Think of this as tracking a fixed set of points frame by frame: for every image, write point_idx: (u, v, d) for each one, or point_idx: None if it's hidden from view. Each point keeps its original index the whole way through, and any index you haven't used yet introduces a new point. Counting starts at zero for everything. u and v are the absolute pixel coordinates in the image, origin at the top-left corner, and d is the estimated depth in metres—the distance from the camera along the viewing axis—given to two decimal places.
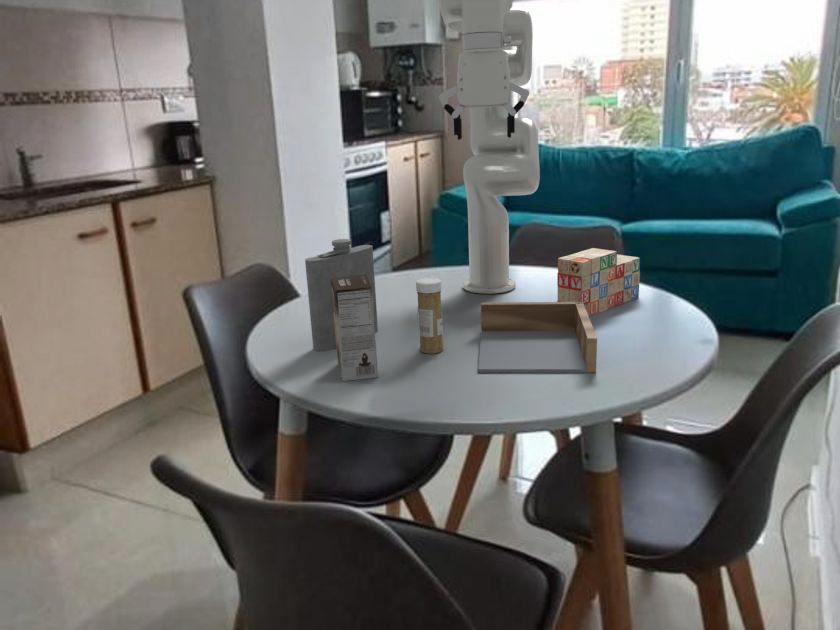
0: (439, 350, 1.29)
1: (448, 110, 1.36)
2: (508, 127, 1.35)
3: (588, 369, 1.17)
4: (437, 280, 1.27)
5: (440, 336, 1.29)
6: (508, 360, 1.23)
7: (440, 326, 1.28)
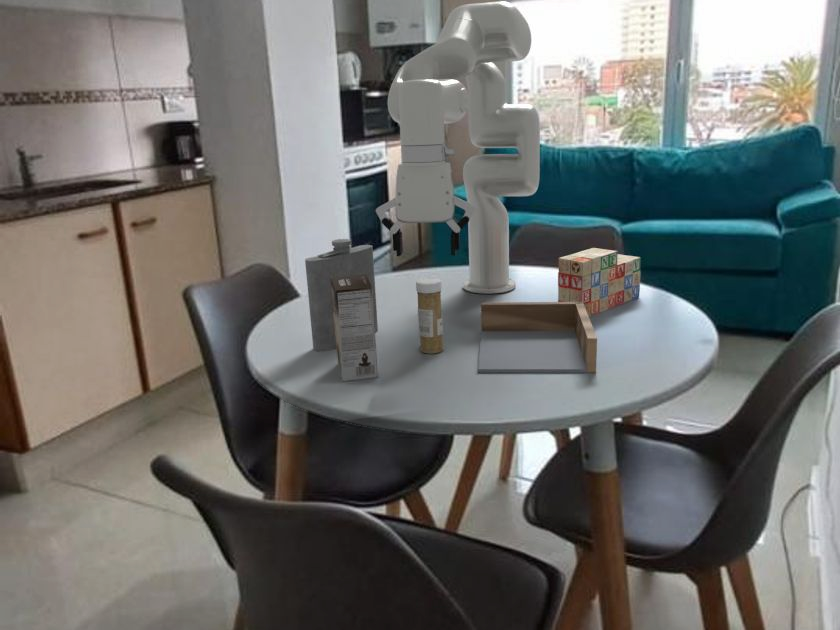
0: (439, 350, 1.29)
1: (386, 225, 1.24)
2: (452, 245, 1.23)
3: (588, 369, 1.17)
4: (437, 280, 1.27)
5: (440, 336, 1.29)
6: (508, 360, 1.23)
7: (440, 326, 1.28)
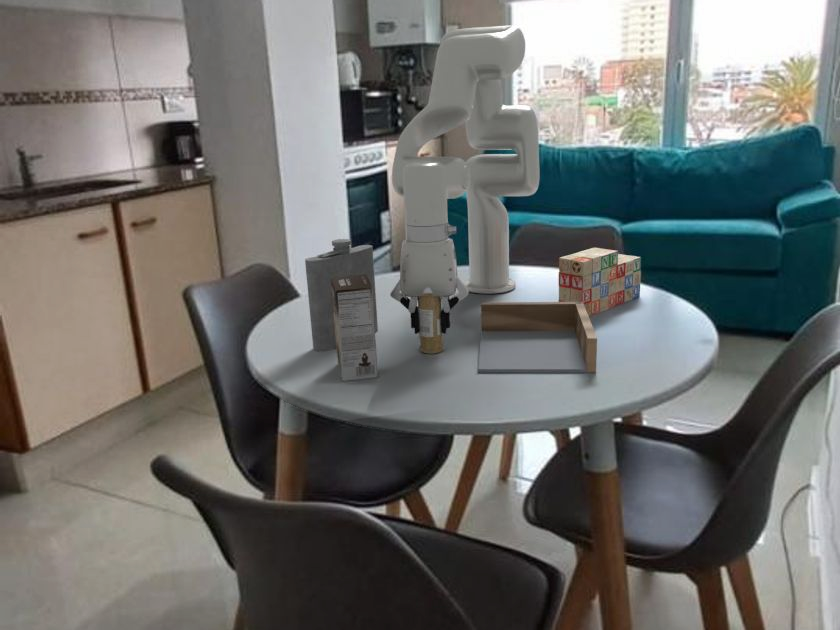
0: (439, 350, 1.29)
1: (404, 304, 1.28)
2: (442, 324, 1.28)
3: (588, 369, 1.17)
4: None
5: (440, 336, 1.29)
6: (508, 360, 1.23)
7: (440, 326, 1.28)
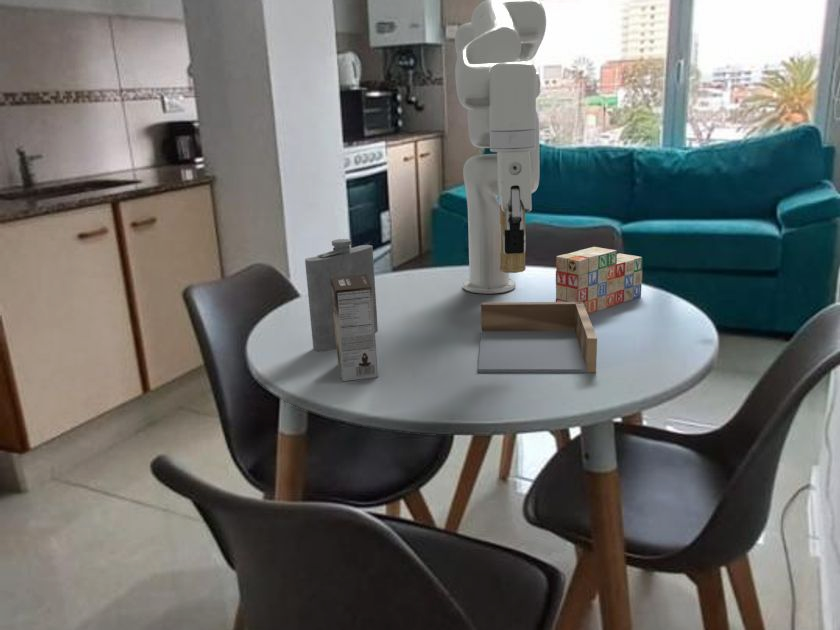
0: (504, 270, 1.22)
1: None
2: None
3: (588, 369, 1.17)
4: None
5: (507, 256, 1.21)
6: (508, 360, 1.23)
7: None
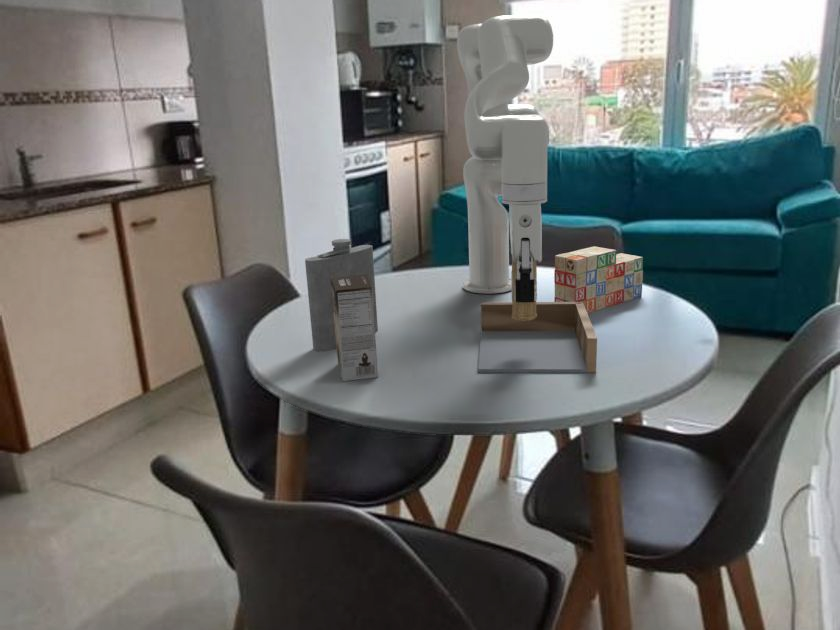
0: (515, 317, 1.24)
1: None
2: None
3: (588, 369, 1.17)
4: None
5: (518, 304, 1.22)
6: (508, 360, 1.23)
7: None
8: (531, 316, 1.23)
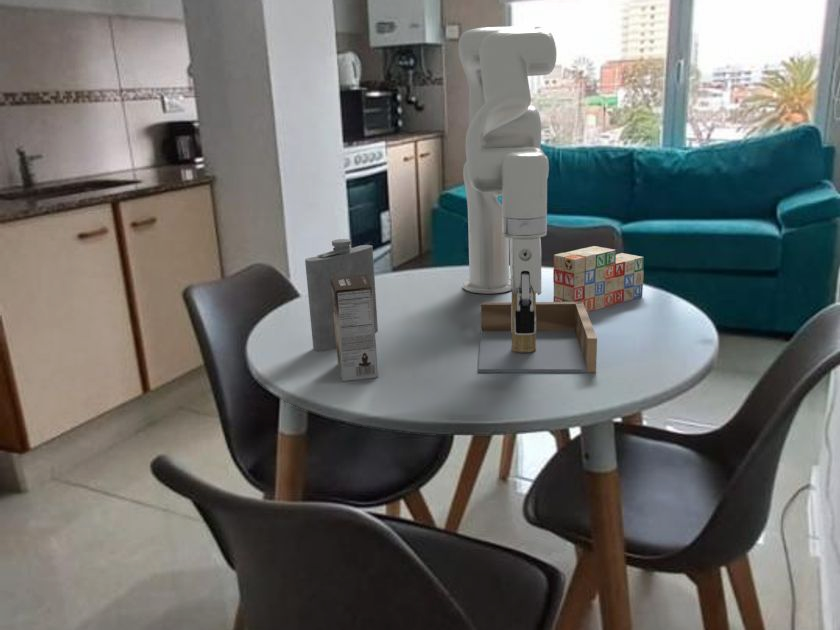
0: (515, 350, 1.26)
1: None
2: None
3: (588, 369, 1.17)
4: None
5: (518, 337, 1.25)
6: (508, 360, 1.23)
7: None
8: (531, 348, 1.25)
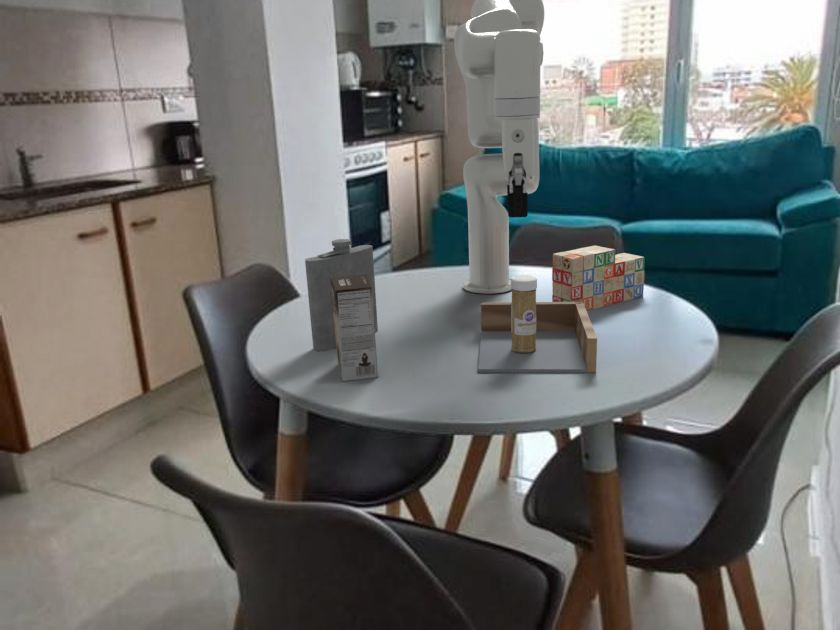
0: (515, 350, 1.26)
1: None
2: None
3: (588, 369, 1.17)
4: (523, 280, 1.22)
5: (518, 337, 1.25)
6: (508, 360, 1.23)
7: (518, 326, 1.24)
8: (531, 349, 1.25)
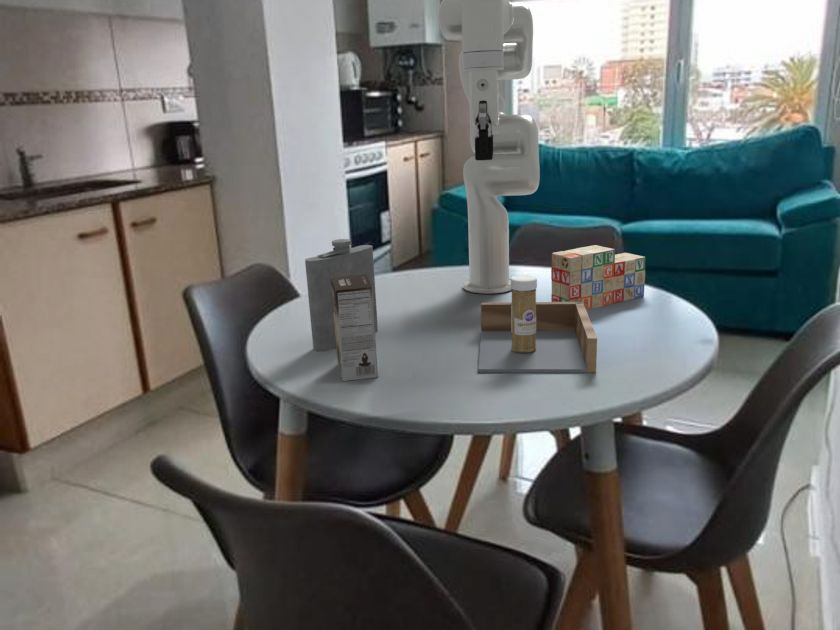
0: (515, 350, 1.26)
1: None
2: None
3: (588, 369, 1.17)
4: (522, 279, 1.22)
5: (518, 337, 1.25)
6: (508, 360, 1.23)
7: (518, 326, 1.24)
8: (531, 348, 1.25)
